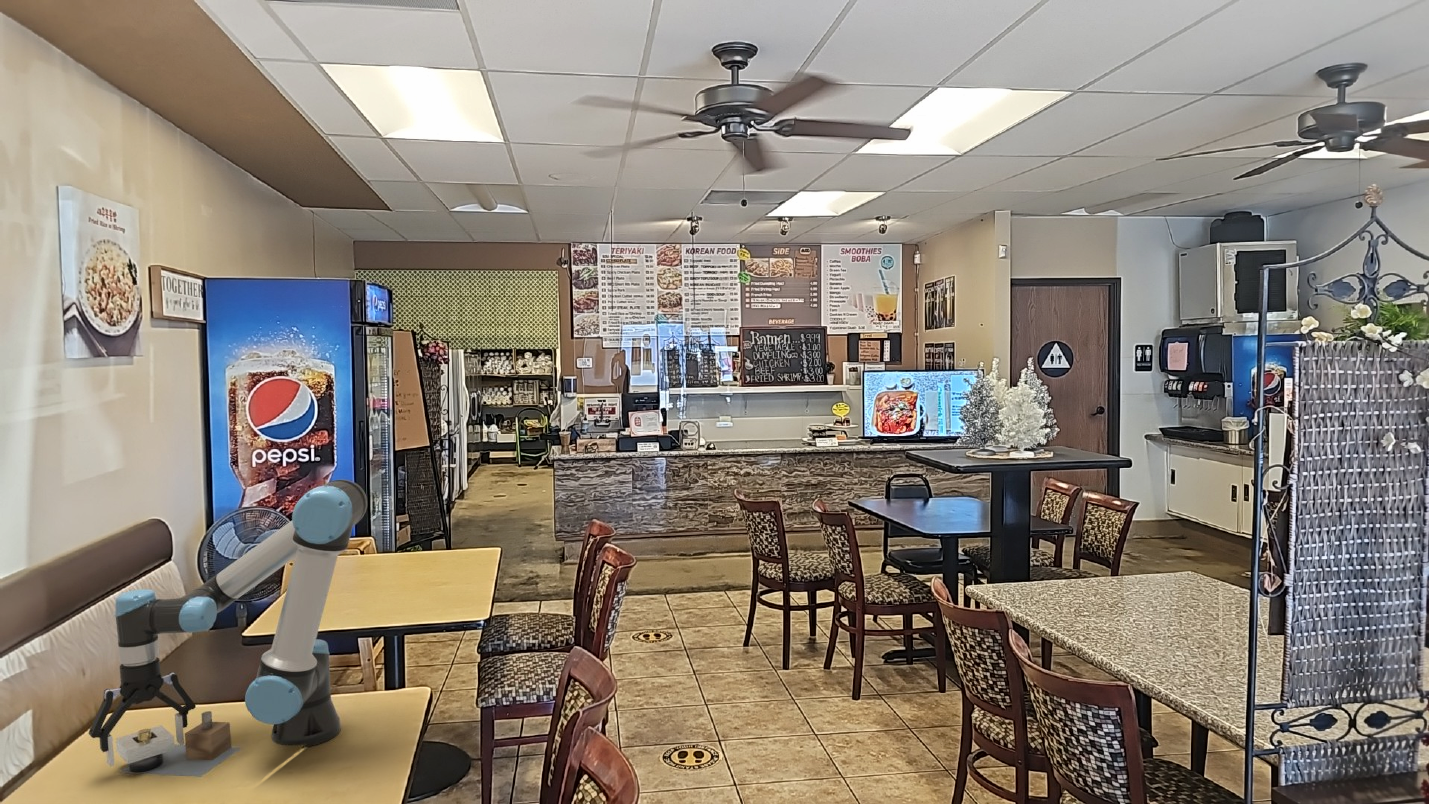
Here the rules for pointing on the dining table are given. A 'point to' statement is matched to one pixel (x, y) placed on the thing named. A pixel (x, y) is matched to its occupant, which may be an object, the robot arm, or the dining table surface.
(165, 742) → the silver square ring
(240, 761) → the dining table surface
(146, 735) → the hub
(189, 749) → the stand
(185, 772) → the board
